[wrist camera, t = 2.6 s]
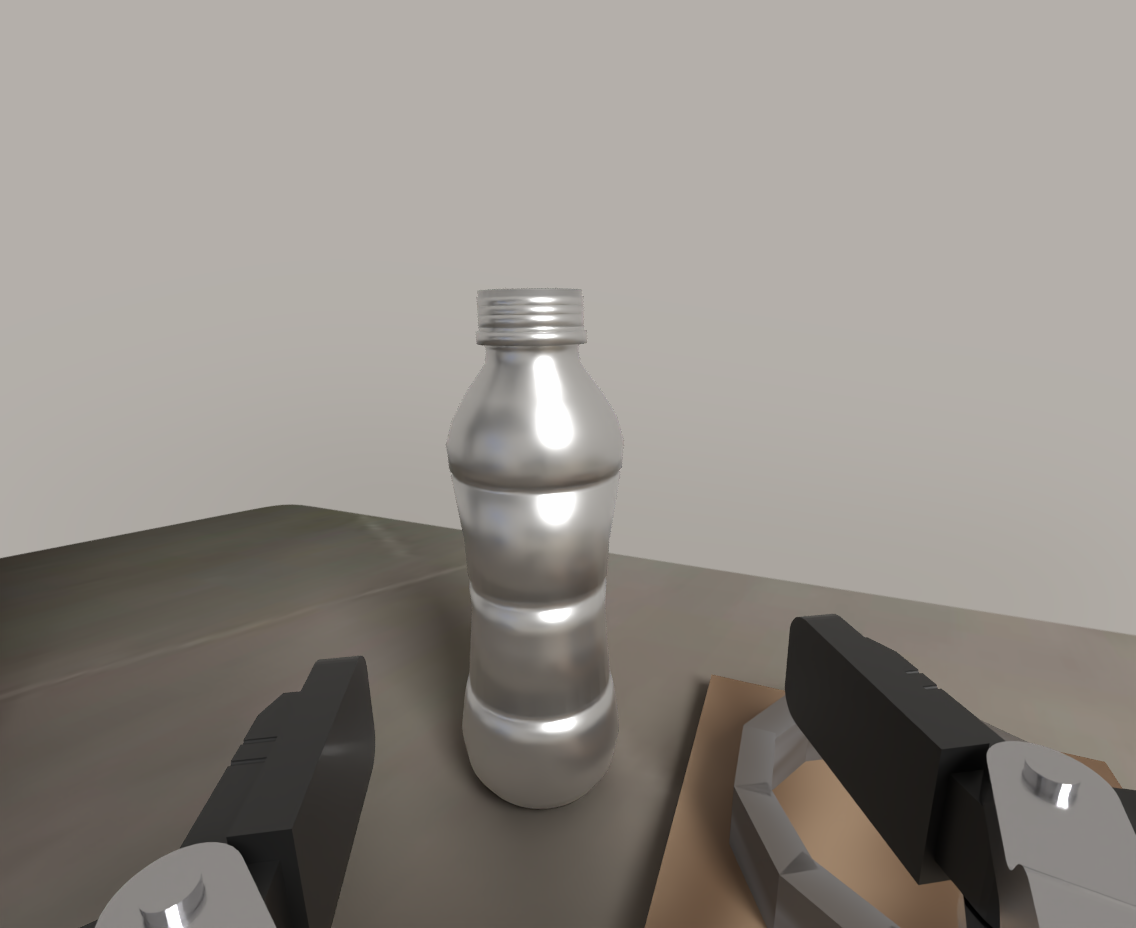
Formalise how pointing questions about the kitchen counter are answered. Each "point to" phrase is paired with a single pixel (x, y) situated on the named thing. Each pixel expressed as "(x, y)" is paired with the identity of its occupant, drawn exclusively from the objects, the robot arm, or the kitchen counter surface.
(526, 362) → the silver aluminium bottle
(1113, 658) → the kitchen counter surface
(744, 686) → the bottle dock
